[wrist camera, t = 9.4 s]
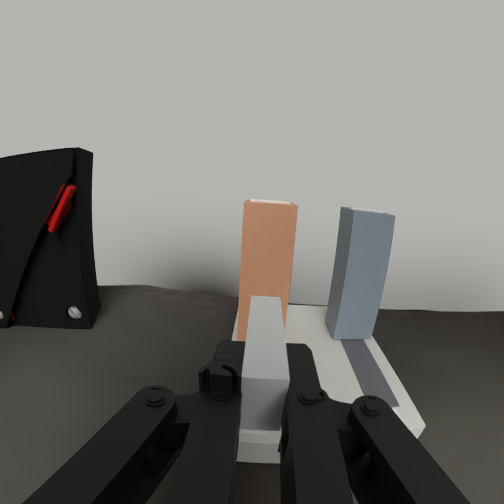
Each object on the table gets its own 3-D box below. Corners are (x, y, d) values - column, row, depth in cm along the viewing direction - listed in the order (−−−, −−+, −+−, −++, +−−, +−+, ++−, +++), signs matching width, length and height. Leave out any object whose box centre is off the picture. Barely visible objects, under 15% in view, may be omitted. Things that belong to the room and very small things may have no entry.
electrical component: (103, 300, 34) (97, 154, 29) (87, 337, 25) (73, 145, 20) (9, 298, 29) (-3, 167, 24) (-21, 328, 19) (-42, 167, 14)
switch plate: (411, 447, 13) (426, 424, 12) (212, 458, 13) (211, 437, 13) (349, 324, 32) (353, 306, 32) (238, 319, 33) (239, 300, 32)
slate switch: (370, 338, 24) (395, 213, 21) (333, 339, 24) (354, 208, 21) (359, 320, 28) (378, 209, 25) (325, 319, 28) (341, 204, 25)
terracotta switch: (282, 345, 23) (297, 203, 20) (237, 342, 23) (244, 199, 20) (280, 324, 27) (292, 200, 24) (240, 321, 27) (247, 197, 24)
